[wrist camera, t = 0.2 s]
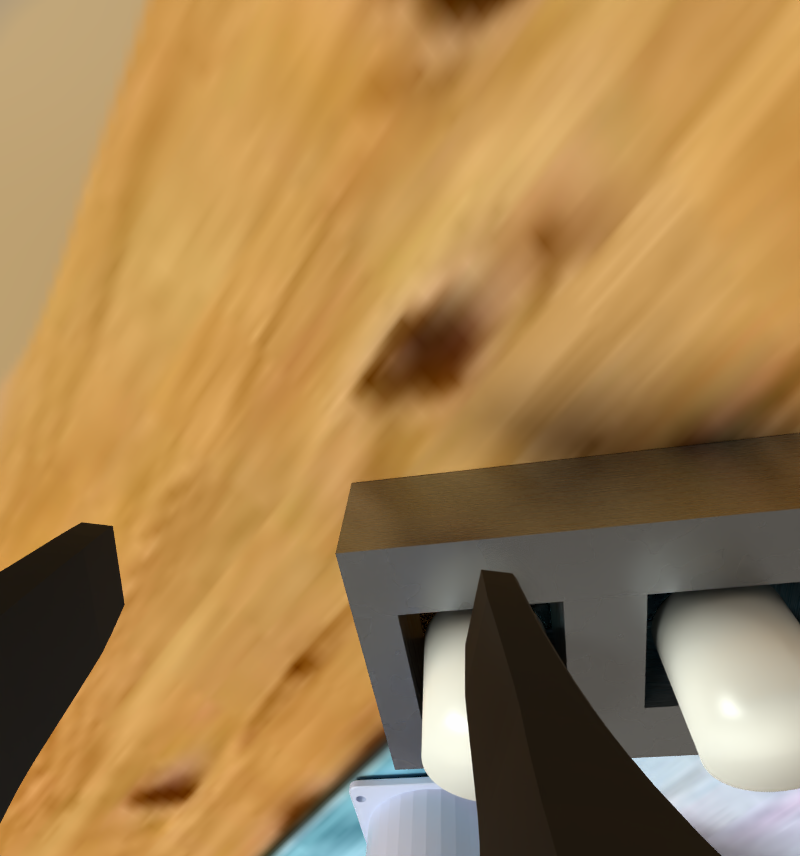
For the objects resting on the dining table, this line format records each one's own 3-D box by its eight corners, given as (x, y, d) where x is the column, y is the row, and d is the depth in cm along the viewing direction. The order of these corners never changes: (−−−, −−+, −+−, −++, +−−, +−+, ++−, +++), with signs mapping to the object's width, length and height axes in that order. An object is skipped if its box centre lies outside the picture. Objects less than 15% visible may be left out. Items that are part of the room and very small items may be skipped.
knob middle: (777, 663, 22) (852, 788, 18) (650, 671, 22) (695, 794, 18) (793, 568, 20) (882, 686, 16) (652, 580, 20) (704, 696, 16)
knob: (550, 678, 23) (573, 799, 19) (433, 686, 23) (432, 805, 19) (543, 590, 21) (568, 705, 17) (415, 601, 21) (410, 715, 17)
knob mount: (996, 644, 24) (1089, 735, 21) (400, 684, 28) (395, 769, 24) (1092, 400, 19) (1237, 465, 16) (351, 483, 23) (335, 553, 19)
